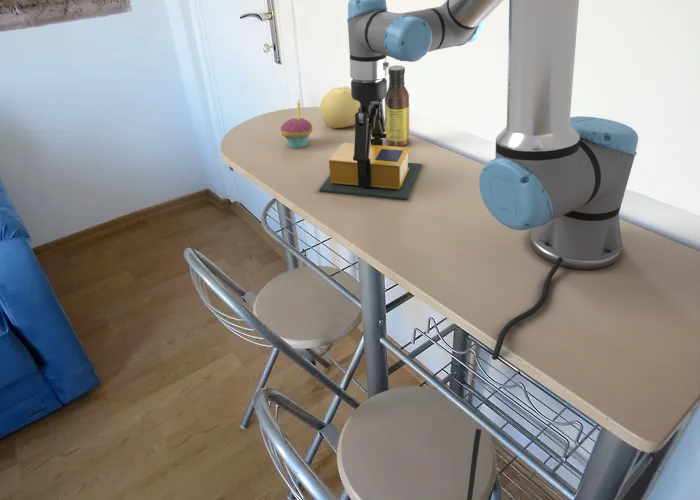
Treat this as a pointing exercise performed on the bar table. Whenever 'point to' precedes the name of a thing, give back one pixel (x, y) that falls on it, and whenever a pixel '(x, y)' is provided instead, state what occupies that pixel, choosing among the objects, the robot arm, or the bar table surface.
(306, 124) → the cupcake
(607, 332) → the bar table surface
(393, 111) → the sauce bottle
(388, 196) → the desk mat
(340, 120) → the sculpture
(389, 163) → the yellow box with panel
